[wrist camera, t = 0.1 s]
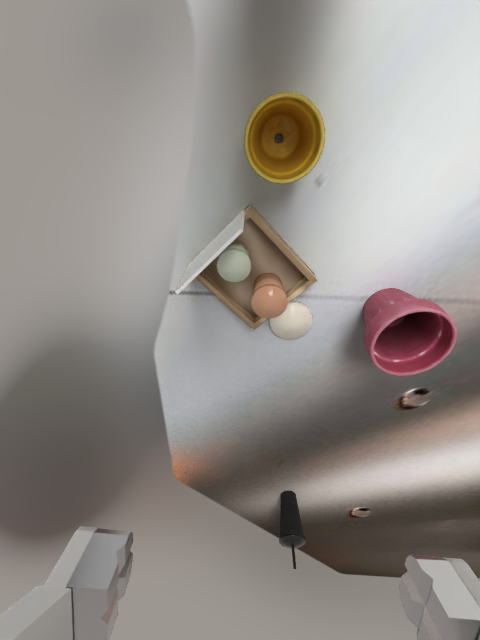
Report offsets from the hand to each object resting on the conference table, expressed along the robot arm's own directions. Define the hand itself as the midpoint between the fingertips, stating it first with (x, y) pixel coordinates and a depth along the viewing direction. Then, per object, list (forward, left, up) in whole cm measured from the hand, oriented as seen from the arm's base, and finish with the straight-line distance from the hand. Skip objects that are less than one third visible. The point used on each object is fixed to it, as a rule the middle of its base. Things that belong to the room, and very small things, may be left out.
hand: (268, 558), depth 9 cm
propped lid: (+9, 0, -49) cm, 50 cm away
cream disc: (+11, +23, -52) cm, 58 cm away
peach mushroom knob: (+9, +13, -51) cm, 54 cm away
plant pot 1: (-9, -4, -52) cm, 53 cm away
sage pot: (+9, +4, -51) cm, 52 cm away
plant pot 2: (-5, +34, -52) cm, 62 cm away
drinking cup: (+55, +75, -52) cm, 107 cm away
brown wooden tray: (+9, +9, -52) cm, 54 cm away
